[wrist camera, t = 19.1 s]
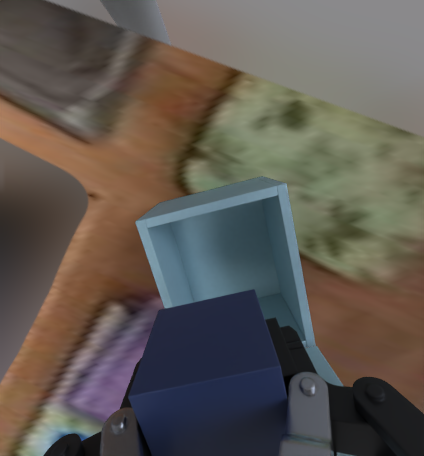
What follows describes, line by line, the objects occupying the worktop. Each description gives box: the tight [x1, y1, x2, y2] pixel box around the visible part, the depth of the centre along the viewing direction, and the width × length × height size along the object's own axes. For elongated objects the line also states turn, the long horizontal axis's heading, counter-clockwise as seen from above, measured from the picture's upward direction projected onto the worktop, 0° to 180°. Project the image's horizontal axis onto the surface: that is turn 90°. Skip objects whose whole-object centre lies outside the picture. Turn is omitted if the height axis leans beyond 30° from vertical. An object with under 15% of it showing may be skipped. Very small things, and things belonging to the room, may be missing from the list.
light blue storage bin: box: [135, 176, 315, 348], centre depth 27 cm, size 16×13×10 cm
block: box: [128, 289, 288, 456], centre depth 11 cm, size 5×5×5 cm
